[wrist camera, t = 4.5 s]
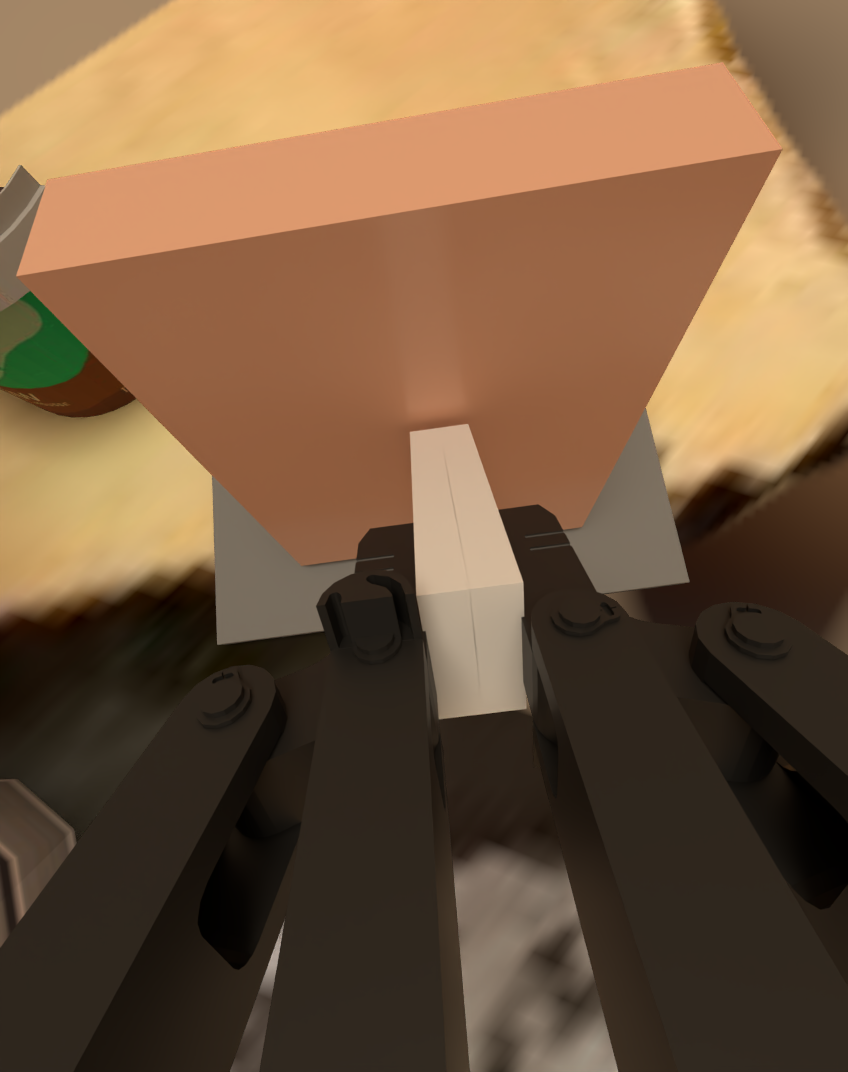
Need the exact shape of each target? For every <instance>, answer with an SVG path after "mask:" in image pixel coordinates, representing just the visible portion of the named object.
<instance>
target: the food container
mask: <svg viewBox="0 0 848 1072" xmlns="http://www.w3.org/2000/svg"><path fill="white" fill-rule="evenodd" d="M44 189H45V186H44V185H40V184H39V183H38V182H37V181H36V180H35V179H34V178H33V177H32V176H31V175H30V174H29V173H28V172H27V171H26V170H25V169H24V168H23V166H22V165H19V166H18V167H17V169H16V171H15V172H14V174H13V175H12V177H11V178H10V180H9V181H8V183H7V184H6V186H5V187H0V389H2V390H4V391H6V392H8V393H10V394H12V395H14V396H17V397H19V398H21V399H23V400H25V401H27V402H29V403H32V404H34V405H36V406H38V407H40V408H42V409H44V410H47V411H49V412H52V413H55V414H58V415H62V416H68V417H90V416H96V415H101V414H105V413H108V412H111V411H114V410H116V409H118V408H120V407H123V406H125V405H127V404H129V403H130V402H132V401H133V400H135V399H136V397H135V396H134V395H133V394H132V393H131V392H130V391H129V390H128V389H127V388H126V387H125V386H124V385H123V384H122V383H121V382H120V381H119V380H118V379H117V378H116V377H115V376H114V375H113V374H112V373H111V372H110V371H109V370H108V369H107V368H106V367H105V366H104V365H103V364H102V363H101V362H100V361H99V360H98V359H97V358H96V357H95V356H94V355H93V354H92V353H91V352H90V351H89V350H88V349H87V348H86V347H85V346H84V345H83V344H82V343H81V342H80V341H79V340H78V339H77V338H76V337H75V336H74V335H73V334H72V333H71V331H70V330H69V329H68V328H67V327H66V326H65V325H64V324H63V323H62V322H61V321H60V320H59V319H58V318H57V317H56V316H55V315H54V314H53V313H52V312H51V311H50V310H49V309H48V308H47V307H46V306H45V305H44V304H43V303H42V302H41V301H40V300H39V299H38V298H37V297H36V296H35V295H34V294H33V293H32V292H31V291H30V290H29V289H28V288H27V287H26V286H25V285H24V284H23V283H22V282H21V281H20V280H19V279H18V278H17V277H16V275H17V272H18V269H19V266H20V263H21V259H22V256H23V253H24V250H25V247H26V244H27V241H28V238H29V235H30V232H31V229H32V226H33V223H34V220H35V216H36V213H37V210H38V207H39V204H40V201H41V198H42V195H43V192H44Z"/></svg>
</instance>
